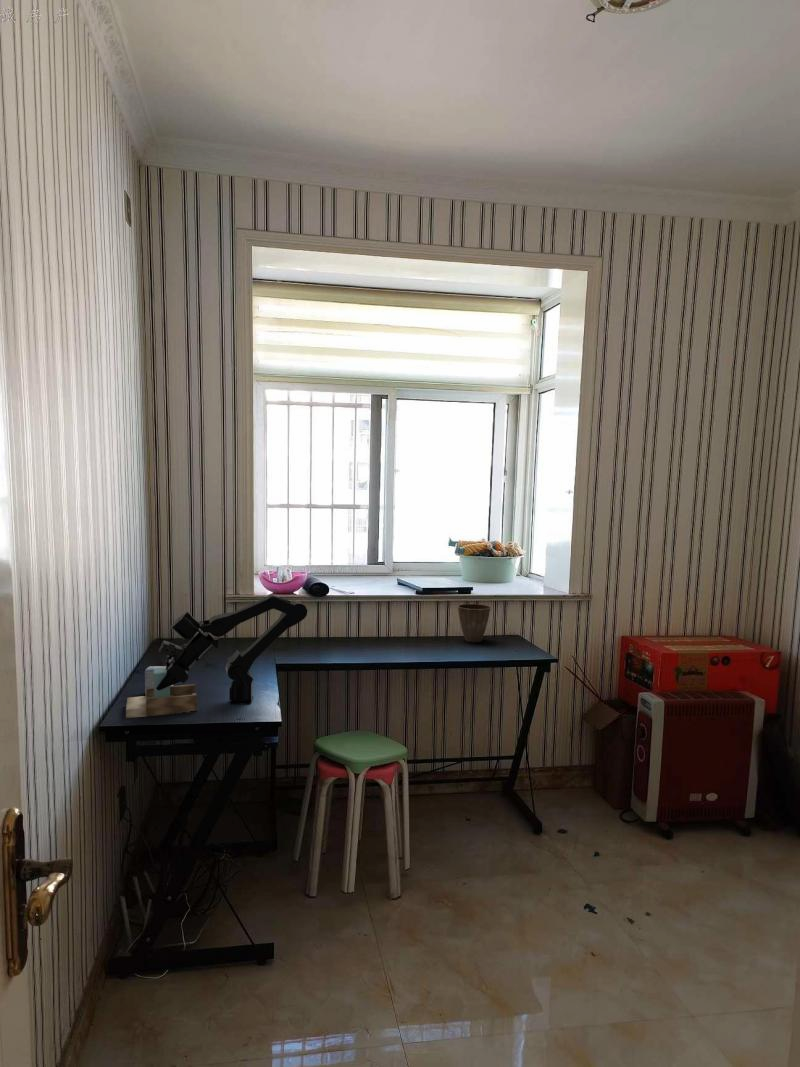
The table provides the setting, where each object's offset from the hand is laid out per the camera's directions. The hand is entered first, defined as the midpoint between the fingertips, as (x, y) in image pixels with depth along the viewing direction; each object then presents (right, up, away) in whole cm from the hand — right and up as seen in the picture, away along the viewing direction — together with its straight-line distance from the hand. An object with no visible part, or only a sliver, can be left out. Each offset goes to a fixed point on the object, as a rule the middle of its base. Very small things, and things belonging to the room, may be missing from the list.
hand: (157, 687), depth 200 cm
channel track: (+1, -7, +1) cm, 7 cm away
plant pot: (+108, -3, +103) cm, 149 cm away
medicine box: (-5, -6, +16) cm, 17 cm away
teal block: (+1, -4, +1) cm, 5 cm away
